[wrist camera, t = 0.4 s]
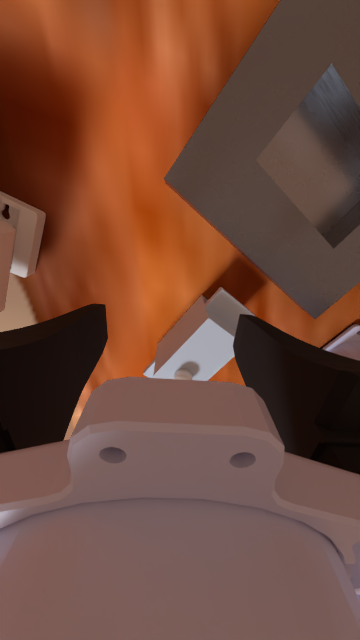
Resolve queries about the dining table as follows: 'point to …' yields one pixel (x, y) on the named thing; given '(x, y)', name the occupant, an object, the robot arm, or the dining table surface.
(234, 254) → the dining table surface
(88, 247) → the dining table surface
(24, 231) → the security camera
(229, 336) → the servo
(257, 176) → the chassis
